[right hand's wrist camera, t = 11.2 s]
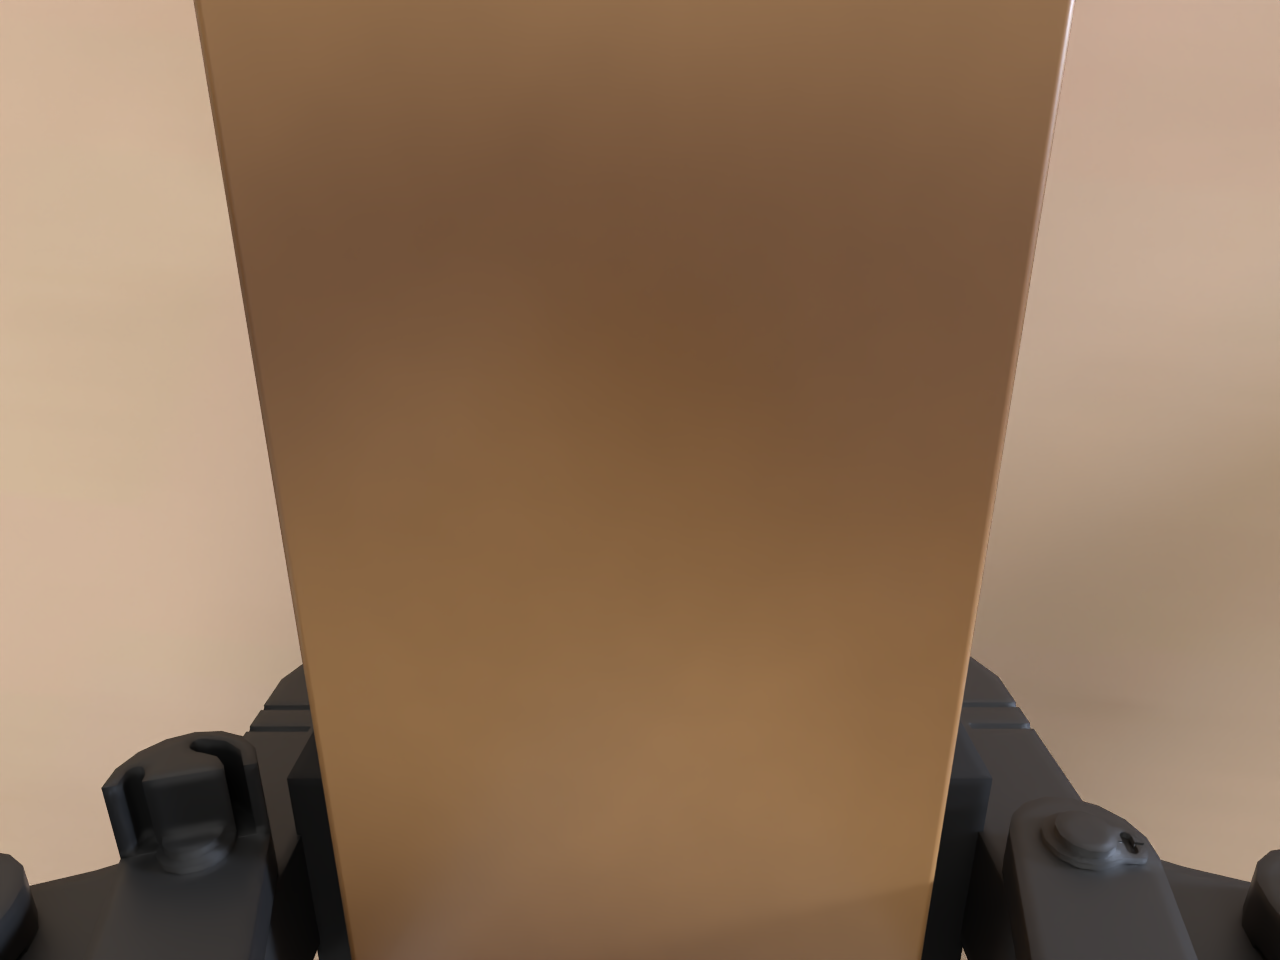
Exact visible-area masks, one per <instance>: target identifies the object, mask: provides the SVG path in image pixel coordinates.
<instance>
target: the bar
mask: <svg viewBox="0 0 1280 960" xmlns="http://www.w3.org/2000/svg"><path fill="white" fill-rule="evenodd" d="M194 6H195V12H196V18H197V24H198V30H199V36H200V42H201V48H202V55H203V61H204V67H205V73H206V79H207V85H208V91H209V97H210V103H211V109H212V115H213V121H214V127H215V133H216V140H217V146H218V152H219V158H220V164H221V170H222V176H223V182H224V188H225V194H226V200H227V206H228V212H229V218H230V225H231V231H232V237H233V243H234V249H235V255H236V261H237V267H238V273H239V279H240V285H241V291H242V297H243V303H244V310H245V316H246V322H247V328H248V334H249V340H250V346H251V352H252V358H253V364H254V370H255V376H256V382H257V389H258V395H259V401H260V407H261V413H262V419H263V425H264V431H265V437H266V443H267V449H268V455H269V461H270V467H271V474H272V480H273V486H274V492H275V498H276V504H277V510H278V516H279V522H280V528H281V534H282V540H283V546H284V552H285V559H286V565H287V571H288V577H289V583H290V589H291V595H292V601H293V607H294V613H295V619H296V625H297V631H298V638H299V644H300V650H301V656H302V662H303V668H304V674H305V680H306V686H307V692H308V698H309V704H310V710H311V716H312V723H313V729H314V735H315V741H316V747H317V753H318V759H319V765H320V771H321V777H322V783H323V789H324V795H325V801H326V808H327V814H328V820H329V826H330V832H331V838H332V844H333V850H334V856H335V862H336V868H337V874H338V880H339V886H340V893H341V899H342V905H343V911H344V917H345V923H346V929H347V935H348V941H349V947H350V953H351V959H352V960H921V957H922V950H923V944H924V938H925V932H926V925H927V919H928V913H929V907H930V901H931V894H932V888H933V882H934V876H935V870H936V863H937V857H938V851H939V845H940V838H941V832H942V826H943V820H944V814H945V807H946V801H947V795H948V789H949V783H950V776H951V770H952V764H953V758H954V752H955V745H956V739H957V733H958V727H959V720H960V714H961V708H962V702H963V696H964V689H965V683H966V677H967V671H968V665H969V658H970V652H971V646H972V640H973V633H974V627H975V621H976V615H977V609H978V602H979V596H980V590H981V584H982V578H983V571H984V565H985V559H986V553H987V546H988V540H989V534H990V528H991V522H992V515H993V509H994V503H995V497H996V491H997V484H998V478H999V472H1000V466H1001V459H1002V453H1003V447H1004V441H1005V435H1006V428H1007V422H1008V416H1009V410H1010V404H1011V397H1012V391H1013V385H1014V379H1015V373H1016V366H1017V360H1018V354H1019V348H1020V341H1021V335H1022V329H1023V323H1024V317H1025V310H1026V304H1027V298H1028V292H1029V286H1030V279H1031V273H1032V267H1033V261H1034V254H1035V248H1036V242H1037V236H1038V230H1039V223H1040V217H1041V211H1042V205H1043V199H1044V192H1045V186H1046V180H1047V174H1048V168H1049V161H1050V155H1051V149H1052V143H1053V136H1054V130H1055V124H1056V118H1057V112H1058V105H1059V99H1060V93H1061V87H1062V81H1063V74H1064V68H1065V62H1066V56H1067V49H1068V43H1069V37H1070V31H1071V25H1072V18H1073V12H1074V6H1075V0H194Z"/></svg>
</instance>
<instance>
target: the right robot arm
mask: <svg viewBox="0 0 1280 960" xmlns="http://www.w3.org/2000/svg"><path fill="white" fill-rule="evenodd" d="M102 792H103V795H104V799H105V803H106V806H107V810H108V814H109V817H110V821H111V825H112V828H113V832H114V836H115V839H116V843H117V847H118V850H119V854H120V858H121V860H120V862H119V864H116V865H112V866H109V867H106V868H102V869H99V870H96V871H92V872H87V873H83V874H79V875H75V876H70V877H66V878H62V879H57V880H53V881H49V882H45V883H40V884H36V885H32V886H29V883H28V880H27V877H26V874H25V871H24V868H23V866H22V865H21V864H20V863H19V862H18V861H17V860H15V859H14V858H13V857H12V856H11V855H9V854H2V853H0V960H313V959H314V957H315V954H316V952H317V951H318V957H319V960H352V959H351V953H350V947H349V941H348V935H347V929H346V923H345V917H344V911H343V905H342V899H341V893H340V886H339V880H338V874H337V868H336V862H335V856H334V850H333V844H332V838H331V832H330V826H329V820H328V814H327V808H326V801H325V795H324V789H323V783H322V777H321V771H320V765H319V759H318V753H317V747H316V741H315V735H314V729H313V723H312V716H311V710H310V704H309V698H308V692H307V686H306V680H305V674H304V668H303V664H302V665H301V666H299V667H298V668H297V669H295V670H294V671H293V672H291V673H290V674H289V675H287V676H286V677H284V678H283V679H282V680H281V681H280V682H279V684H278V685H277V687H276V688H275V690H274V691H273V693H272V694H271V696H270V697H269V699H268V700H267V702H266V703H265V705H264V710H261V711H260V712H259V714H258V715H257V717H256V718H255V720H254V721H253V723H252V724H251V726H250V731H249V732H246V733H245V735H244V736H239V735H235V734H231V733H227V732H223V731H213V732H194V733H190V734H186V735H182V736H178V737H174V738H170V739H166V740H164V741H162V742H160V743H158V744H155V745H153V746H151V747H149V748H147V749H144V750H142V751H140V752H138V753H137V754H135V755H134V756H133V757H131V758H130V759H129V760H127V761H126V762H125V763H123V764H122V765H121V766H119V767H118V768H116V769H115V771H114V772H113V773H112V775H111V776H110V777H109V779H108V780H107V781H106V783H105V784H104V785H103V787H102ZM962 948H963V949H964V951H965V954H966V956H967V959H968V960H1280V850H1273V851H1270V852H1269V853H1268V854H1267V855H1265V856H1264V857H1263V858H1262V859H1261V860H1259V861H1258V862H1257V865H1256V868H1255V872H1254V875H1253V878H1252V881H1251V882H1247V881H1242V880H1238V879H1234V878H1229V877H1225V876H1221V875H1216V874H1212V873H1208V872H1204V871H1199V870H1195V869H1191V868H1186V867H1183V866H1179V865H1176V864H1173V863H1169V862H1166V861H1163V860H1160V858H1159V856H1158V855H1157V853H1156V852H1155V850H1154V849H1153V847H1152V845H1151V844H1150V842H1149V841H1148V839H1147V838H1146V837H1145V836H1144V835H1143V834H1142V833H1140V832H1139V831H1138V830H1137V829H1136V828H1134V827H1133V826H1132V825H1131V824H1130V823H1128V822H1127V821H1126V820H1125V819H1123V818H1121V817H1119V816H1117V815H1115V814H1113V813H1111V812H1109V811H1107V810H1105V809H1104V808H1102V807H1100V806H1097V805H1094V804H1090V803H1087V802H1083V801H1082V800H1081V798H1080V797H1079V795H1078V794H1077V792H1076V791H1075V789H1074V788H1073V786H1072V785H1071V783H1070V782H1069V780H1068V779H1067V778H1066V776H1065V775H1064V773H1063V772H1062V770H1061V769H1060V767H1059V766H1058V764H1057V763H1056V761H1055V760H1054V758H1053V757H1052V755H1051V754H1050V752H1049V751H1048V749H1047V748H1046V746H1045V745H1044V744H1043V742H1042V741H1041V739H1040V738H1039V736H1038V735H1037V733H1036V732H1035V730H1034V729H1030V723H1029V721H1028V720H1027V718H1026V717H1025V715H1024V714H1023V713H1022V711H1021V710H1020V708H1019V707H1016V702H1015V701H1014V699H1013V698H1012V696H1011V695H1010V693H1009V692H1008V690H1007V689H1006V687H1005V686H1004V684H1003V683H1002V681H1001V680H1000V679H999V677H998V676H996V675H995V674H994V673H992V672H991V671H990V670H988V669H987V668H985V667H984V666H983V665H981V664H980V663H978V662H977V661H976V660H974V659H973V658H972V657H970V658H969V665H968V671H967V677H966V683H965V689H964V696H963V702H962V708H961V714H960V720H959V727H958V733H957V739H956V745H955V752H954V758H953V764H952V770H951V776H950V783H949V789H948V795H947V801H946V807H945V814H944V820H943V826H942V832H941V838H940V845H939V851H938V857H937V863H936V870H935V876H934V882H933V888H932V894H931V901H930V907H929V913H928V919H927V925H926V932H925V938H924V944H923V950H922V957H921V960H960V959H961V953H962Z"/></svg>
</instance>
